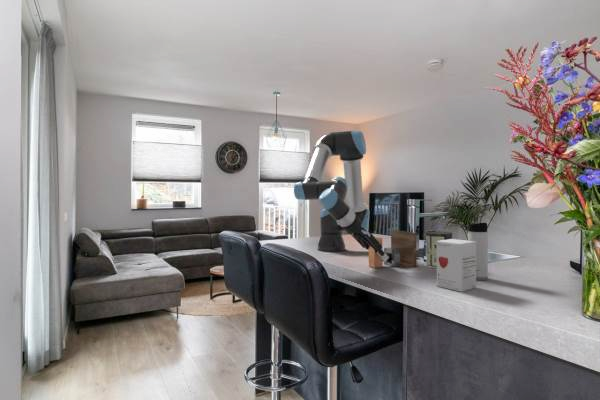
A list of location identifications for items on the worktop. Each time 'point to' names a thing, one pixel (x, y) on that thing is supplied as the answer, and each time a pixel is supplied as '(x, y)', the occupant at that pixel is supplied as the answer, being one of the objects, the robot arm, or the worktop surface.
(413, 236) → the backboard
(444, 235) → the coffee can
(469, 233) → the travel mug
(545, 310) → the worktop surface
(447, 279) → the supplement box
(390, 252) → the grey thick square slab
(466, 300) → the worktop surface
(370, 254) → the upright wooden block
